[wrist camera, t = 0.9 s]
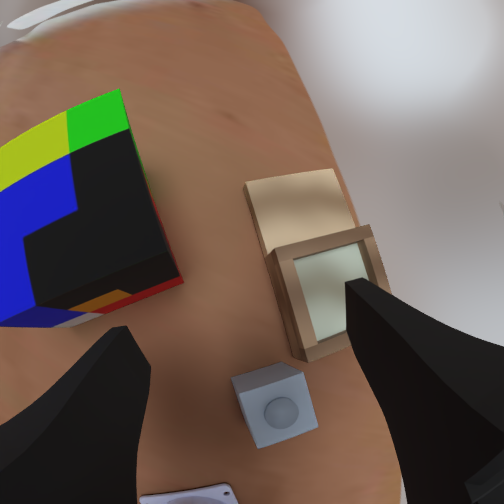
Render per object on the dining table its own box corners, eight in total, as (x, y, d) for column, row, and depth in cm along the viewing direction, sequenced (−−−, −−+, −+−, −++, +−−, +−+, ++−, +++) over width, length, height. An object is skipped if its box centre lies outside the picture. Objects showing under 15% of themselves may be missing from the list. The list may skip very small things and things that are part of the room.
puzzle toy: (71, 327, 18) (-8, 326, 9) (45, 215, 20) (-19, 160, 10) (183, 282, 21) (167, 250, 11) (144, 171, 22) (119, 88, 13)
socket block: (377, 323, 22) (399, 322, 19) (293, 357, 21) (308, 362, 18) (327, 174, 25) (341, 157, 22) (243, 188, 23) (249, 169, 20)
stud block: (294, 406, 20) (320, 428, 15) (245, 422, 19) (259, 451, 14) (281, 361, 21) (305, 373, 15) (230, 377, 20) (239, 395, 14)
